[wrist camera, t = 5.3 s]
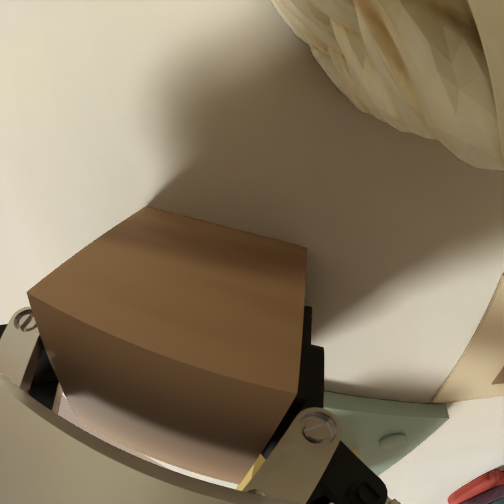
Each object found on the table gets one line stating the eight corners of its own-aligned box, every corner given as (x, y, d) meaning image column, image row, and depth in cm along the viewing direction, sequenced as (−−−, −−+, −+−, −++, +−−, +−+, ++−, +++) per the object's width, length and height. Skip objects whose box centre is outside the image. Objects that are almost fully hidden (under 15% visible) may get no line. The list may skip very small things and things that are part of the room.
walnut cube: (145, 206, 10) (26, 292, 5) (306, 248, 10) (297, 393, 5) (144, 326, 13) (79, 422, 8) (266, 364, 13) (239, 484, 7)
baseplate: (201, 360, 13) (192, 379, 12) (445, 404, 12) (450, 422, 11) (190, 458, 20) (185, 470, 19) (345, 486, 19) (345, 498, 18)
